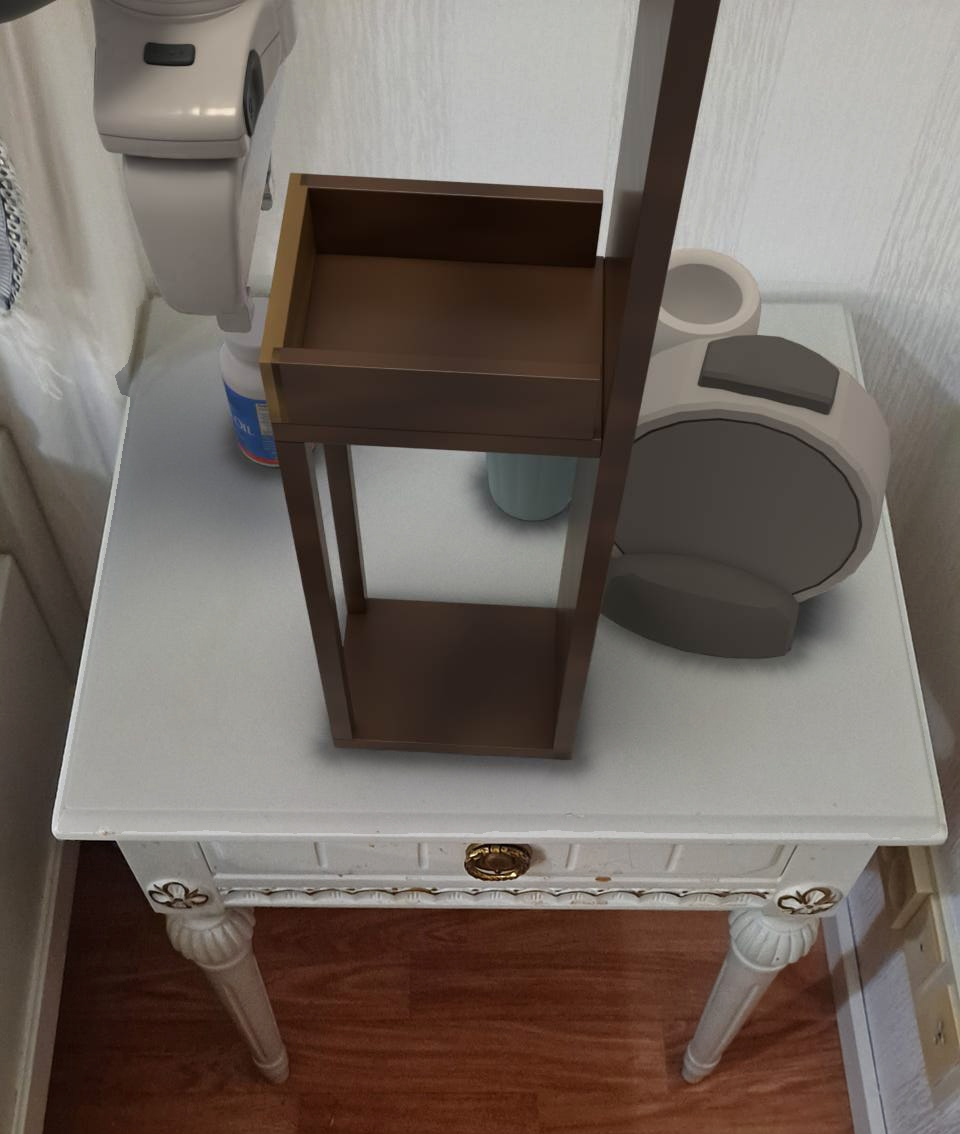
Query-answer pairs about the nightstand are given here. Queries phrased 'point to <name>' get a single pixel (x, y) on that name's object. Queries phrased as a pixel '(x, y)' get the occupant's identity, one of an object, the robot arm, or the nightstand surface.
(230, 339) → the pill bottle
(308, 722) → the nightstand surface
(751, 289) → the mug
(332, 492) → the rack
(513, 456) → the cup
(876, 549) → the nightstand surface
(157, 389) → the nightstand surface
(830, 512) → the alarm clock
